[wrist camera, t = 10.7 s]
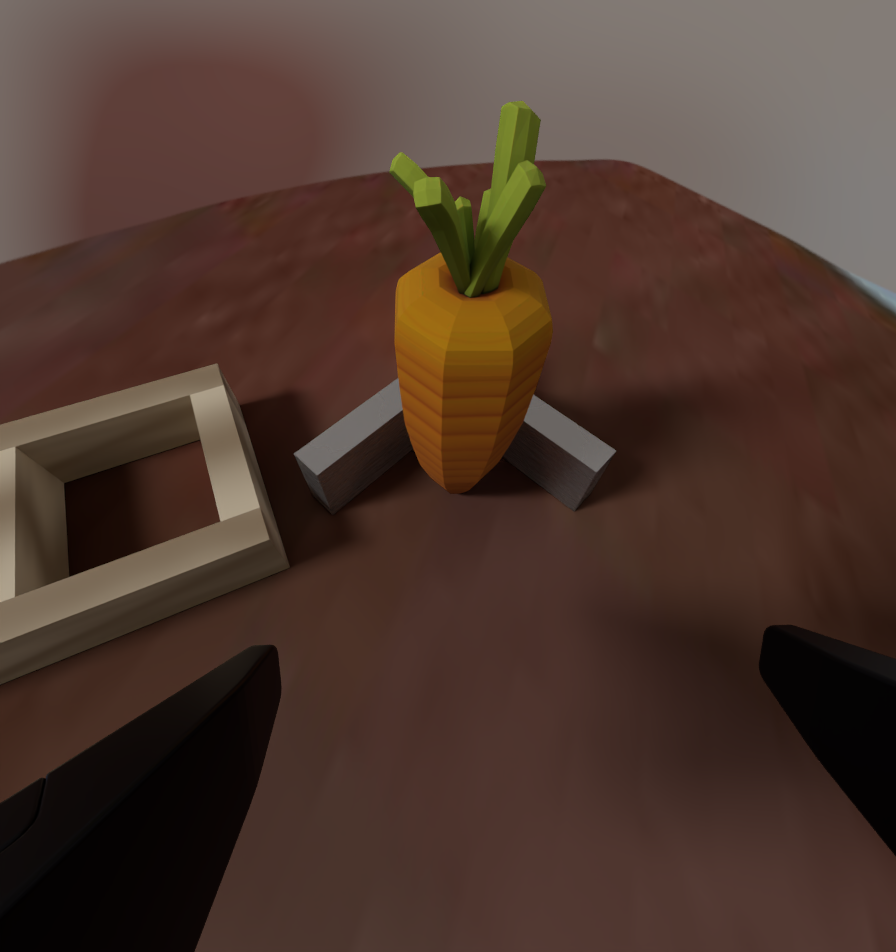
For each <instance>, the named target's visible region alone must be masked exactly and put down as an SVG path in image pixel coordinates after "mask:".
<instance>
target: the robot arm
mask: <svg viewBox="0 0 896 952" xmlns="http://www.w3.org/2000/svg"><path fill="white" fill-rule="evenodd" d="M759 670H760V674H761V676H762V678H763V680H764V682H765V683H766V685H767V686H768V688H769V689H770V690H771V692H772V693H773V695H774V696H775V698H776V699H777V701H778V702H779V704H780V705H781V707H782V708H783V709H784V711H785V712H786V714H787V715H788V717H789V718H790V720H791V721H792V723H793V724H794V726H795V727H796V729H797V730H798V731H799V733H800V734H801V736H802V737H803V739H804V740H805V742H806V743H807V745H808V746H809V747H810V749H811V750H812V752H813V753H814V754H815V756H816V757H817V759H818V760H819V761H820V763H821V764H822V765H823V766H824V768H825V769H826V770H827V772H828V773H829V774H830V775H831V777H832V778H833V779H834V780H835V782H836V783H837V784H838V785H839V787H840V788H841V789H842V790H843V791H844V793H845V794H846V795H847V796H848V798H849V799H850V800H851V801H852V803H853V804H854V805H855V806H856V808H857V809H858V810H859V811H860V813H861V814H862V815H863V816H864V818H865V819H866V820H867V821H868V823H869V824H870V825H871V826H872V828H873V829H874V830H875V831H876V832H877V834H878V835H879V836H880V837H881V839H882V840H883V841H884V842H885V844H886V845H887V846H888V847H889V849H890V850H891V851H892V852H893V854H894V855H895V856H896V659H894V658H891V657H888V656H885V655H882V654H879V653H876V652H873V651H870V650H866V649H863V648H860V647H857V646H854V645H851V644H848V643H845V642H842V641H839V640H836V639H833V638H830V637H827V636H824V635H821V634H818V633H815V632H812V631H809V630H806V629H803V628H800V627H797V626H793V625H772V626H769V627H767V628H766V630H765V631H764V635H763V641H762V648H761V654H760V660H759ZM280 698H281V677H280V667H279V658H278V651H277V648H276V647H275V646H274V645H254V646H251V647H249V648H247V649H246V650H244V651H242V652H241V653H239V654H238V655H236V656H234V657H233V658H231V659H230V660H228V661H226V662H225V663H223V664H222V665H220V666H218V667H217V668H215V669H214V670H212V671H210V672H209V673H207V674H206V675H204V676H202V677H201V678H199V679H198V680H196V681H194V682H193V683H191V684H190V685H188V686H186V687H185V688H183V689H182V690H180V691H179V692H177V693H175V694H174V695H172V696H171V697H169V698H167V699H166V700H164V701H163V702H161V703H159V704H158V705H156V706H155V707H153V708H151V709H150V710H148V711H147V712H145V713H143V714H142V715H140V716H139V717H137V718H135V719H134V720H132V721H131V722H129V723H127V724H126V725H124V726H123V727H121V728H119V729H118V730H116V731H115V732H113V733H111V734H110V735H108V736H107V737H105V738H103V739H102V740H100V741H99V742H97V743H95V744H94V745H92V746H91V747H89V748H88V749H86V750H84V751H83V752H81V753H80V754H78V755H76V756H75V757H73V758H72V759H70V760H68V761H67V762H65V763H64V764H62V765H60V766H59V767H57V768H56V769H54V770H52V771H51V772H49V773H48V774H47V776H46V779H45V778H39V779H38V780H36V781H35V782H33V783H31V784H30V785H28V786H27V787H25V788H24V789H22V790H20V791H19V792H17V793H16V794H14V795H12V796H11V797H9V798H8V799H6V800H4V801H3V802H1V803H0V952H194V951H195V949H196V946H197V944H198V941H199V938H200V936H201V933H202V930H203V928H204V925H205V923H206V920H207V917H208V915H209V912H210V909H211V907H212V904H213V902H214V899H215V896H216V894H217V891H218V888H219V886H220V883H221V881H222V878H223V875H224V873H225V870H226V867H227V865H228V862H229V860H230V857H231V854H232V852H233V849H234V846H235V844H236V841H237V839H238V836H239V833H240V831H241V828H242V825H243V823H244V820H245V818H246V815H247V812H248V810H249V807H250V804H251V802H252V799H253V796H254V793H255V790H256V787H257V784H258V781H259V777H260V774H261V770H262V766H263V763H264V759H265V755H266V751H267V748H268V744H269V740H270V736H271V732H272V729H273V725H274V721H275V717H276V714H277V710H278V706H279V702H280Z"/></svg>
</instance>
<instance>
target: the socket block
mask: <svg viewBox="0 0 896 952" xmlns="http://www.w3.org/2000/svg"><path fill="white" fill-rule="evenodd" d="M200 439H201V443H202V447H203V451H204V455H205V459H206V463H207V467H208V471H209V476H210V480H211V484H212V488H213V492H214V496H215V500H216V504H217V508H218V512H219V516H220V520H221V522H218V523H216V524H213V525H210V526H208V527H205V528H202V529H199V530H197V531H194V532H191V533H188V534H186V535H183V536H180V537H177V538H175V539H172V540H169V541H167V542H164V543H161V544H158V545H156V546H153V547H150V548H147V549H145V550H142V551H139V552H136V553H134V554H131V555H128V556H126V557H123V558H120V559H117V560H115V561H112V562H109V563H106V564H104V565H101V566H98V567H96V568H93V569H90V570H87V571H85V572H82V573H79V574H76V575H74V576H71V577H69V562H68V545H67V527H66V510H65V493H64V483H66V482H69V481H72V480H75V479H78V478H82V477H85V476H88V475H91V474H94V473H97V472H100V471H103V470H107V469H110V468H113V467H116V466H119V465H122V464H125V463H128V462H132V461H135V460H138V459H141V458H144V457H147V456H150V455H153V454H157V453H160V452H163V451H166V450H169V449H172V448H175V447H178V446H182V445H185V444H188V443H191V442H194V441H197V440H200ZM288 568H290V566H289V563H288V559H287V556H286V553H285V550H284V546H283V543H282V540H281V537H280V534H279V530H278V527H277V524H276V521H275V518H274V514H273V511H272V508H271V505H270V501H269V498H268V495H267V492H266V489H265V485H264V482H263V479H262V476H261V473H260V469H259V466H258V463H257V460H256V457H255V453H254V450H253V447H252V444H251V440H250V437H249V434H248V431H247V428H246V424H245V421H244V418H243V415H242V412H241V408H240V405H239V403H238V401H237V399H236V397H235V396H234V394H233V392H232V390H231V388H230V386H229V385H228V383H227V381H226V379H225V377H224V375H223V373H222V372H221V370H220V368H219V366H218V364H214V365H210V366H206V367H203V368H199V369H196V370H192V371H189V372H185V373H182V374H178V375H175V376H171V377H168V378H164V379H161V380H157V381H154V382H150V383H147V384H143V385H139V386H136V387H132V388H129V389H125V390H122V391H118V392H115V393H111V394H108V395H104V396H101V397H97V398H94V399H90V400H87V401H83V402H79V403H76V404H72V405H69V406H65V407H62V408H58V409H55V410H51V411H48V412H44V413H41V414H37V415H34V416H30V417H27V418H23V419H19V420H16V421H12V422H9V423H5V424H2V425H0V685H1V684H3V683H6V682H8V681H11V680H13V679H15V678H18V677H20V676H23V675H25V674H28V673H30V672H33V671H35V670H38V669H40V668H43V667H45V666H48V665H50V664H53V663H55V662H58V661H60V660H62V659H65V658H67V657H70V656H72V655H75V654H77V653H80V652H82V651H85V650H87V649H90V648H92V647H95V646H97V645H100V644H102V643H104V642H107V641H109V640H112V639H114V638H117V637H119V636H122V635H124V634H127V633H129V632H132V631H134V630H137V629H139V628H142V627H144V626H147V625H149V624H151V623H154V622H156V621H159V620H161V619H164V618H166V617H169V616H171V615H174V614H176V613H179V612H181V611H184V610H186V609H189V608H191V607H194V606H196V605H198V604H201V603H203V602H206V601H208V600H211V599H213V598H216V597H218V596H221V595H223V594H226V593H228V592H231V591H233V590H236V589H238V588H241V587H243V586H245V585H248V584H250V583H253V582H255V581H258V580H260V579H263V578H265V577H268V576H270V575H273V574H275V573H278V572H280V571H283V570H285V569H288Z"/></svg>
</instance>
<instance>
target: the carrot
mask: <svg viewBox="0 0 896 952" xmlns="http://www.w3.org/2000/svg"><path fill="white" fill-rule="evenodd" d="M540 121H541V120H540V119H539V118H538V116H537V115H536V114H535V113H534V112H533V111H532V110H531V109H530V108H529V107H528V106H527V105H526V104H525V103H524V102H523V101H517V102H509V103H507V104H505V105H504V106H502V109H501V115H500V122H499V130H498V135H497V142H496V149H495V160H494V168H493V177H492V186H491V189H489V190H487V191H485V192H484V194H483V199H482V204H481V209H480V214H479V218H478V223H477V229H476V235H475V241H474V231H473V221H472V210H471V204H470V200H467V199H465V198H462V197H459V198H458V199H457V200H456V201H455V202H454V200H453V197H452V195H451V193H450V191H449V189H448V187H447V186H446V184H445V183H444V182H443V181H442V180H441V178H440V177H428V176H427V175H426V174H425V173H424V172H423V171H422V170H421V169H420V168H419V167H418V165H417V164H416V163H414V162H413V161H412V160H411V159H410V158H408V157H407V156H406V155H405V154H403V153H401V152H400V153H399V154H398V155H397V156H396V157H395V158H394V159H393V160H392V164H391V168H390V173H391V175H392V176H393V177H394V178H395V179H396V180H397V181H398V182H399V183H400V184H401V185H402V186H403V187H404V188H405V189H406V190H407V191H408V192H409V193H410V194H411V195H412V196H413V198H414V201H415V206H416V209H417V210H418V212H419V214H420V216H421V217H422V219H423V220H424V222H425V223H426V225H427V226H428V228H429V229H430V231H431V232H432V235H433V237H434V239H435V241H436V243H437V245H438V247H439V249H440V253H439V254H437V255H435V256H434V257H432V258H430V259H429V260H427V261H425V262H424V263H422V264H420V265H419V266H417V267H415V268H414V269H412V270H410V271H409V272H408V273H406V274H405V275H404V276H403V277H401V278H400V279H399V281H398V284H397V288H396V302H395V350H396V360H397V369H398V379H399V388H400V395H401V402H402V408H403V415H404V422H405V426H406V429H407V432H408V435H409V438H410V441H411V444H412V446H413V449H414V451H415V454H416V456H417V459H418V461H419V463H420V465H421V466H422V468H423V469H424V470H425V471H426V473H427V474H428V475H429V476H430V478H432V479H433V480H434V481H435V482H437V483H438V484H439V485H440V486H442V487H443V488H444V489H445V490H446V491H448V492H449V493H450V494H461V493H463V492H466V491H469V490H470V489H471V488H472V487H473V486H474V485H475V484H476V483H478V482H479V481H480V480H481V479H482V478H483V477H484V476H485V475H486V474H487V473H488V472H489V471H490V470H491V469H492V468H493V467H494V466H495V465H496V464H497V463H498V462H499V461H500V459H501V458H502V456H503V455H504V453H505V452H506V450H507V449H508V447H509V446H510V444H511V442H512V441H513V439H514V437H515V435H516V434H517V432H518V430H519V428H520V427H521V425H522V423H523V421H524V419H525V416H526V413H527V411H528V408H529V405H530V403H531V400H532V397H533V395H534V392H535V389H536V387H537V383H538V380H539V377H540V374H541V371H542V368H543V365H544V362H545V359H546V356H547V353H548V350H549V347H550V344H551V339H552V333H553V329H552V318H551V314H550V310H549V306H548V302H547V298H546V294H545V290H544V286H543V282H542V280H541V279H540V278H539V276H538V275H537V274H536V273H535V272H533V271H532V270H530V269H528V268H526V267H524V266H522V265H521V264H519V263H517V262H515V261H513V260H511V259H510V258H508V257H507V256H508V253H509V251H510V248H511V245H512V242H513V240H514V238H515V237H516V235H517V234H518V232H519V231H520V229H521V228H522V226H523V225H524V223H525V221H526V220H527V218H528V217H529V215H530V214H531V212H532V211H533V209H534V207H535V205H536V203H537V202H538V200H539V198H540V196H541V194H542V193H543V191H544V189H545V187H546V184H545V181H544V177H543V174H542V172H541V171H540V170H539V169H538V168H537V167H536V166H535V165H534V160H535V154H536V147H537V140H538V133H539V127H540Z"/></svg>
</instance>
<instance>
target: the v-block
mask: <svg viewBox="0 0 896 952" xmlns="http://www.w3.org/2000/svg"><path fill="white" fill-rule="evenodd" d="M411 450H413V446H412V444H411V441H410V438H409V435H408V432H407V429H406V426H405V422H404V415H403V408H402V402H401V395H400V388H399V379H396V380H395V381H393V382H392V383H391V384H389V385H388V386H387V387H385V388H384V389H382V390H381V391H380V392H378V393H377V394H376V395H374V396H373V397H371V398H370V399H369V400H367V401H366V402H364V403H363V404H362V405H360V406H359V407H358V408H356V409H355V410H353V411H352V412H351V413H349V414H348V415H347V416H345V417H344V418H342V419H341V420H340V421H338V422H337V423H336V424H334V425H333V426H331V427H330V428H329V429H327V430H326V431H324V432H323V433H322V434H320V435H319V436H318V437H316V438H315V439H313V440H312V441H311V442H309V443H308V444H307V445H305V446H304V447H302V448H301V449H300V450H298V451H297V452H296V453H294V455H295V458H296V460H297V462H298V464H299V467H300V469H301V471H302V473H303V475H304V478H305V480H306V482H307V484H308V487H309V489H310V491H311V493H312V495H313V496H314V497H315V498H316V499H317V500H318V501H319V502H320V503H321V504H322V505H323V506H324V507H325V508H326V509H327V510H328V511H329V512H330V513H331V514H332V515H334V514H335V513H336V512H337V511H338V510H340V509H341V508H342V507H343V506H345V505H346V504H347V503H348V502H349V501H351V500H352V499H353V498H354V497H355V496H357V495H358V494H359V493H360V492H362V491H363V490H364V489H365V488H366V487H368V486H369V485H370V484H371V483H372V482H374V481H375V480H376V479H377V478H379V477H380V476H381V475H382V474H383V473H385V472H386V471H387V470H388V469H389V468H391V467H392V466H393V465H394V464H396V463H397V462H398V461H399V460H400V459H402V458H403V457H404V456H405V455H406V454H408V453H409V452H410V451H411ZM615 452H616V450H615V449H613V448H612V447H610V446H609V445H607V444H606V443H604V442H603V441H601V440H600V439H598V438H597V437H595V436H594V435H592V434H591V433H589V432H588V431H586V430H585V429H583V428H582V427H581V426H579V425H578V424H576V423H575V422H573V421H572V420H570V419H569V418H567V417H566V416H564V415H563V414H561V413H560V412H558V411H557V410H555V409H554V408H552V407H551V406H549V405H548V404H547V403H545V402H544V401H542V400H541V399H539V398H538V397H536V396H535V395H533V397H532V400H531V403H530V405H529V408H528V411H527V413H526V416H525V419H524V421H523V423H522V425H521V427H520V428H519V430H518V432H517V434H516V435H515V437H514V439H513V441H512V442H511V444H510V446H509V447H508V449H507V450H506V452H505V453H504V455H503V456H502V457H503V458H504V459H505V460H507V461H508V462H509V463H511V464H512V465H513V466H515V467H516V468H517V469H519V470H520V471H521V472H523V473H524V474H525V475H527V476H528V477H529V478H531V479H532V480H533V481H535V482H536V483H537V484H539V485H540V486H541V487H542V488H544V489H545V490H546V491H548V492H549V493H550V494H552V495H553V496H554V497H556V498H557V499H558V500H560V501H561V502H562V503H564V504H565V505H566V506H568V507H569V508H570V509H572V510H573V511H575V510H576V509H577V508H578V507H579V506H580V504H581V503H582V502H583V501H584V500H585V499H586V498H587V497H588V496H589V494H590V493H591V492H592V491H593V489H594V487H595V486H596V484H597V482H598V481H599V479H600V477H601V476H602V474H603V472H604V471H605V469H606V467H607V466H608V464H609V462H610V461H611V459H612V457H613V456H614V454H615Z"/></svg>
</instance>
